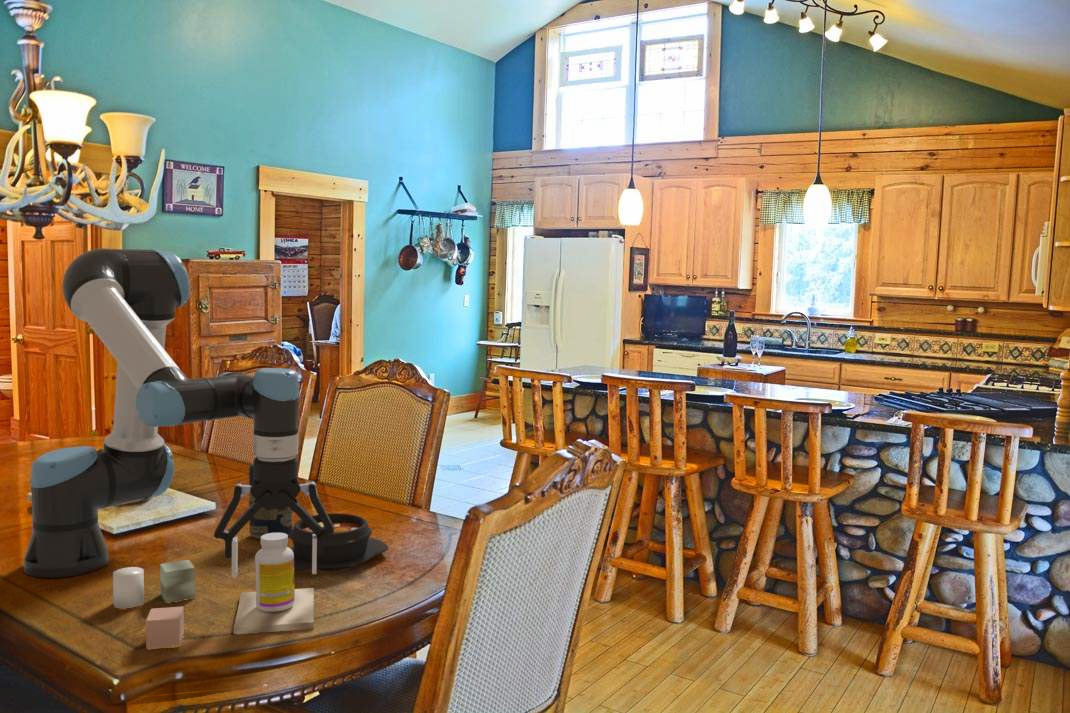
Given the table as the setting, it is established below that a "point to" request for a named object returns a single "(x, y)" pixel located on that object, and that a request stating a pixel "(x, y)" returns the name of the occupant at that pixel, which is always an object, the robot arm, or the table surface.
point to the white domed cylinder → (128, 587)
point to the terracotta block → (164, 627)
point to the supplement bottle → (274, 574)
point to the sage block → (177, 581)
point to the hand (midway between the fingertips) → (274, 573)
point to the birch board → (275, 614)
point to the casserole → (335, 543)
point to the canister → (269, 518)
